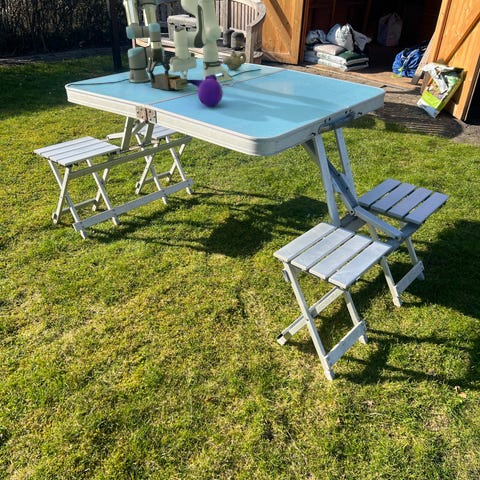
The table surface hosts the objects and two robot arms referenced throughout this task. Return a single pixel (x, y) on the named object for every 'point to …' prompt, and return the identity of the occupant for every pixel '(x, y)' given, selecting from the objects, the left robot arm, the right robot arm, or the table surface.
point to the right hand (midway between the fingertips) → (184, 77)
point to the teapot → (234, 60)
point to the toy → (208, 90)
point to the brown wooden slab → (163, 81)
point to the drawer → (178, 83)
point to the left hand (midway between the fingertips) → (160, 81)
